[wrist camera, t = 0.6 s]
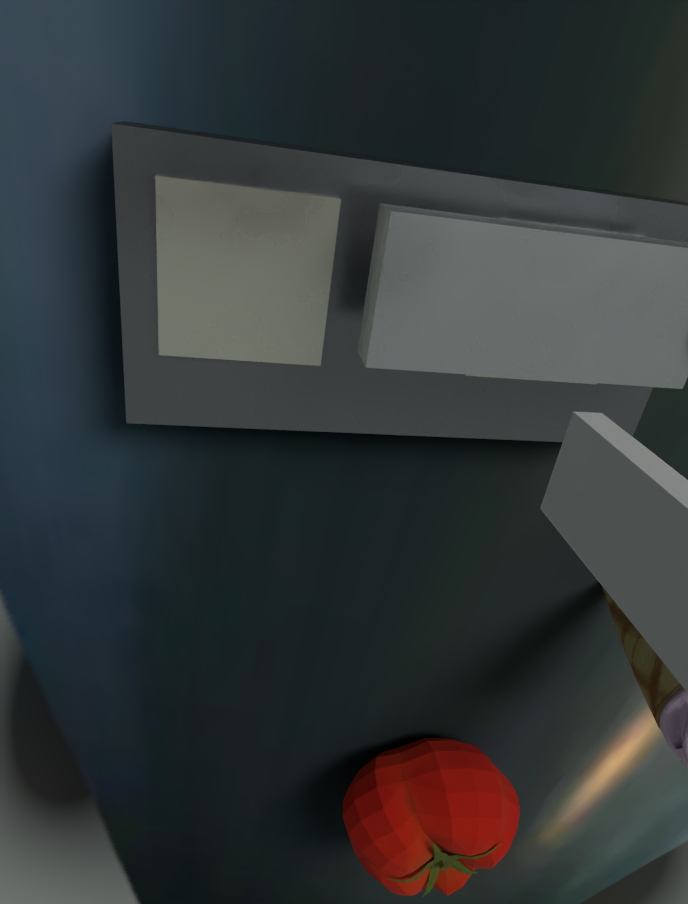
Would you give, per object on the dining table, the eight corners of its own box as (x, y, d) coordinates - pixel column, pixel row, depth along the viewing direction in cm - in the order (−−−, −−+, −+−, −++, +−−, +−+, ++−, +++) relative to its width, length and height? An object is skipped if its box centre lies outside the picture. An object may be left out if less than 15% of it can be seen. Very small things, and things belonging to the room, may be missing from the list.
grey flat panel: (378, 202, 21) (394, 213, 19) (777, 253, 25) (827, 267, 23) (356, 348, 24) (368, 372, 22) (718, 375, 28) (759, 398, 26)
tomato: (328, 816, 52) (344, 937, 44) (337, 725, 45) (358, 848, 38) (477, 797, 54) (517, 908, 47) (505, 707, 48) (556, 819, 40)
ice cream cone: (668, 581, 43) (851, 782, 30) (598, 630, 45) (744, 841, 32) (626, 535, 40) (811, 737, 27) (552, 589, 41) (695, 805, 29)
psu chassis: (124, 121, 24) (99, 125, 19) (692, 203, 29) (775, 220, 25) (135, 395, 29) (118, 447, 25) (607, 420, 35) (661, 466, 30)
